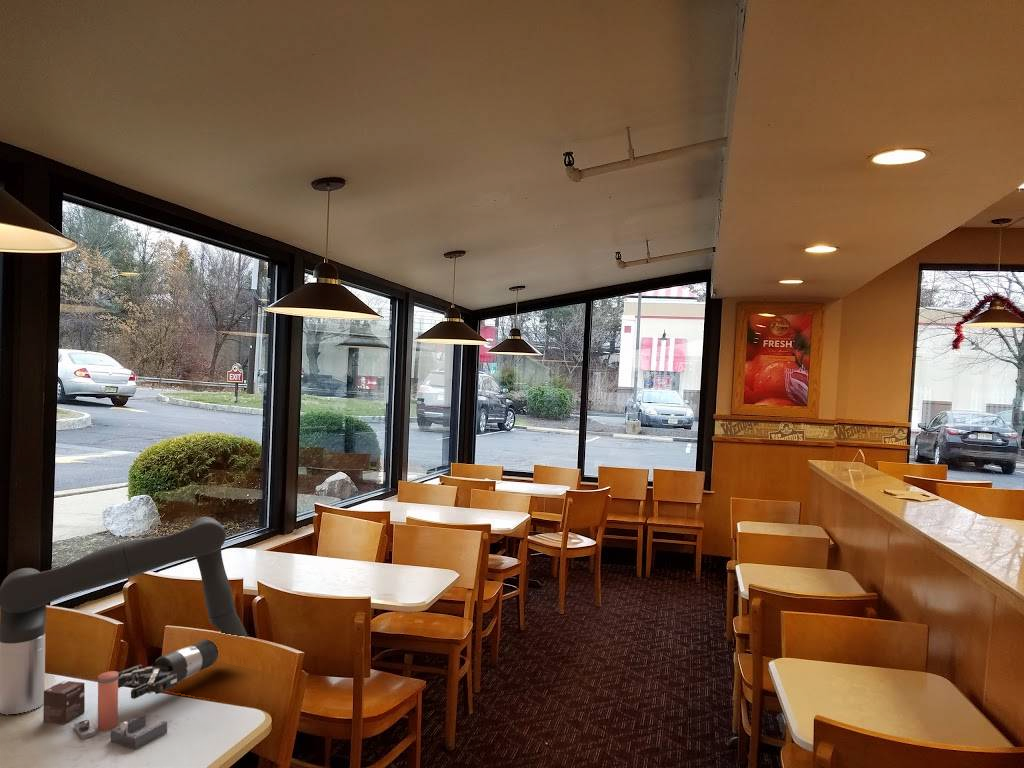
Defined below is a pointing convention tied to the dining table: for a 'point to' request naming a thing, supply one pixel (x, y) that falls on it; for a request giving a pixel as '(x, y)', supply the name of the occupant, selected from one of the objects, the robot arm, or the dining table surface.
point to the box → (64, 702)
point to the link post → (108, 700)
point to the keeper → (132, 741)
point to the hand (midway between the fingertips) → (119, 691)
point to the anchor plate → (84, 729)
